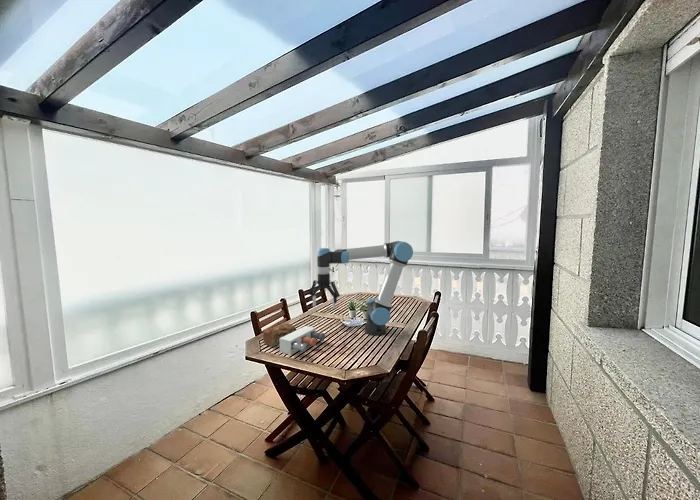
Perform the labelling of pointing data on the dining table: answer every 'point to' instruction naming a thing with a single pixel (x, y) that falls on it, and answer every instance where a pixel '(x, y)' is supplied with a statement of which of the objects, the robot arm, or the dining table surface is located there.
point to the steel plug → (299, 346)
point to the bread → (277, 334)
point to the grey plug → (318, 336)
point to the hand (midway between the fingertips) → (324, 307)
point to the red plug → (308, 341)
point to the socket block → (294, 339)
